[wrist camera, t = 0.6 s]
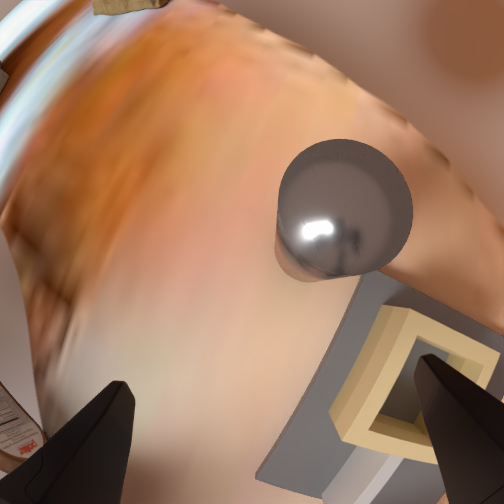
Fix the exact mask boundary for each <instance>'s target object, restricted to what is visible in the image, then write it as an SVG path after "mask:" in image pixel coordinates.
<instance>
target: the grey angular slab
mask: <svg viewBox="0 0 504 504" xmlns="http://www.w3.org/2000/svg"><path fill="white" fill-rule="evenodd" d="M1 65H2V64H1V61H0V68H1ZM8 78H9V75H7V74H6V73H5V72H4V71H3V70H2V69H0V93H1V91H2V89H3V87H4V86H5V84H6V82H7V80H8Z"/></svg>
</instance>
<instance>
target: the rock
mask: <svg viewBox="0 0 504 504" xmlns="http://www.w3.org/2000/svg"><path fill="white" fill-rule="evenodd" d="M168 1H169V0H93V3H92V6H93V8H94V15H97V14H104V15H110V16H111V15H116V14H122V13H127V12H130V11H138V10H142V9H145V8H159V7H162V6H163V5H164V4H165V3H166V2H168Z"/></svg>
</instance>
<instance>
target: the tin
mask: <svg viewBox="0 0 504 504" xmlns="http://www.w3.org/2000/svg"><path fill="white" fill-rule="evenodd" d="M46 442H47V440H46V437H45V434H44V432H43V431H42V429H41V428H40V426H39V425H38V424H37V423H36V422H35V421H34V420H33V418H32V417H31V416H30V415H29V414H28V413H27V412H26V411H25V410H24V409H23V408H22V407H21V405H20V404H19V403H18V402H17V401H16V400H15V399H14V397H13V396H12V395H11V394H10V393H9V391H8V390H7V389H6V388H5V387H4V386H3V384H2V383H1V382H0V470H1V471H3V472H5V473H7V474H9V473H10V472H11V471H13V470H14V469H15V468H17V467H18V466H19V465H21V464H22V463H23V462H24V461H26V460H27V459H28V458H29V457H30V456H31V455H33V454H34V453H35V452H36V451H37V450H38V449H39V448H40V447H43V445H44V444H45V443H46Z"/></svg>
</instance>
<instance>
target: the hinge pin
mask: <svg viewBox="0 0 504 504" xmlns="http://www.w3.org/2000/svg"><path fill="white" fill-rule="evenodd" d="M412 219H413V206H412V199H411V195H410V191H409V188H408V186H407V183H406V181H405V179H404V177H403V175H402V174H401V173H400V171H399V170H398V168H397V167H396V166H395V165H394V163H393V162H392V161H391V160H390V159H389V158H387V157H386V156H385V155H384V154H382V153H381V152H380V151H378V150H377V149H375V148H373V147H371V146H369V145H367V144H364V143H361V142H358V141H354V140H348V139H333V140H327V141H322V142H319V143H317V144H314V145H312V146H310V147H308V148H306V149H305V150H304V151H302V152H301V153H300V154H299V155H298V156H297V157H296V158H295V159H294V160H293V161H292V162H291V163H290V165H289V166H288V168H287V170H286V171H285V173H284V176H283V178H282V181H281V184H280V189H279V196H278V210H277V224H276V238H275V254H276V258H277V261H278V263H279V265H280V267H281V268H282V269H283V271H284V272H285V273H286V274H288V275H289V276H290V277H292V278H294V279H296V280H299V281H303V282H315V281H322V280H329V279H335V278H342V277H348V276H355V275H361V274H366V273H370V272H373V271H376V270H378V269H380V268H382V267H384V266H385V265H386V264H388V263H389V262H391V261H392V260H393V259H394V258H395V257H396V256H397V255H398V253H399V252H400V251H401V250H402V248H403V246H404V245H405V243H406V241H407V239H408V236H409V234H410V230H411V226H412Z"/></svg>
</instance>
